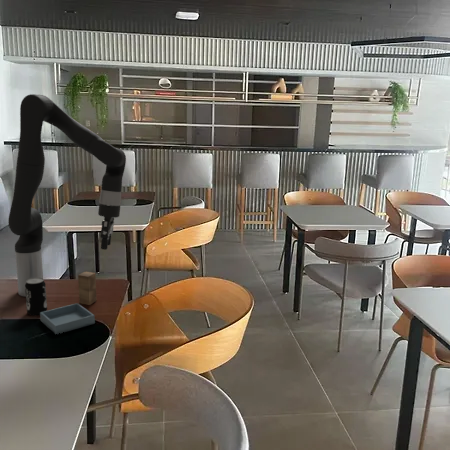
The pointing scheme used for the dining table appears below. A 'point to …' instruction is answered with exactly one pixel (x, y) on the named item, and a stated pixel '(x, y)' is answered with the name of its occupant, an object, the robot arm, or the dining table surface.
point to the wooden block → (87, 288)
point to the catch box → (67, 318)
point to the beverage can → (35, 296)
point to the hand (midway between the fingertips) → (105, 247)
